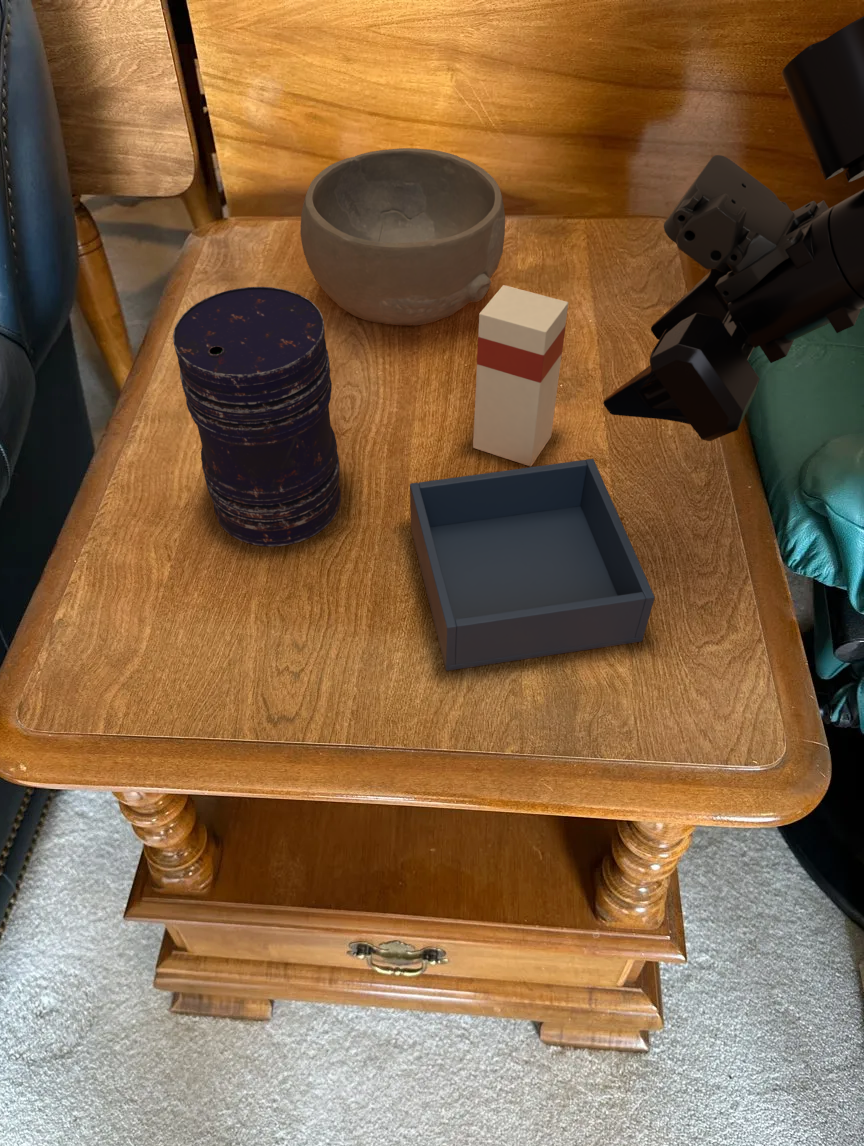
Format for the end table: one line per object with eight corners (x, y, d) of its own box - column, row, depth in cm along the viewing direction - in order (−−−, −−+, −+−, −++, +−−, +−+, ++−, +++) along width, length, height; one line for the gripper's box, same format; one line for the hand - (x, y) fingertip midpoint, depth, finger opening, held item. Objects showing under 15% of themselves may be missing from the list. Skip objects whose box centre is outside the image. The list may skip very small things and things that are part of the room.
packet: (551, 436, 76) (569, 301, 66) (531, 467, 74) (546, 332, 64) (493, 418, 77) (503, 284, 68) (472, 448, 75) (478, 313, 66)
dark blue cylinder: (277, 440, 77) (249, 269, 65) (369, 492, 73) (358, 319, 61) (185, 508, 72) (138, 338, 61) (278, 568, 68) (247, 397, 56)
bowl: (530, 325, 85) (540, 217, 77) (341, 371, 82) (332, 263, 74) (457, 232, 95) (459, 128, 88) (286, 270, 92) (273, 166, 84)
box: (585, 504, 71) (593, 458, 67) (642, 641, 63) (655, 597, 59) (410, 528, 70) (409, 483, 67) (445, 671, 62) (446, 627, 58)
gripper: (824, 59, 55) (613, 207, 67) (729, 208, 45) (502, 349, 57) (914, 221, 59) (698, 332, 71) (845, 391, 49) (608, 486, 61)
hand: (631, 369), depth 65 cm, fingers open, 9 cm apart
